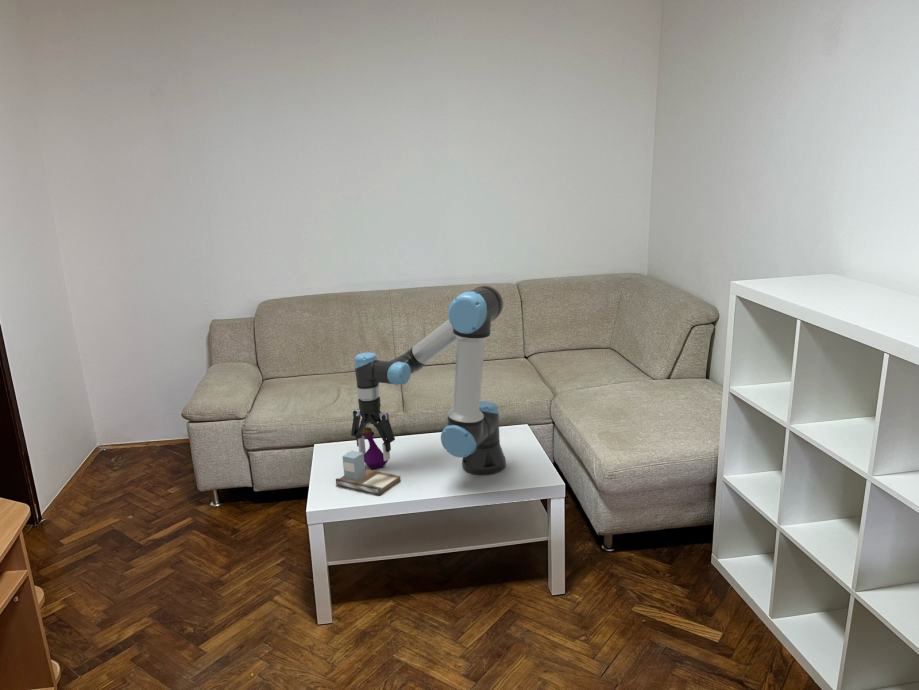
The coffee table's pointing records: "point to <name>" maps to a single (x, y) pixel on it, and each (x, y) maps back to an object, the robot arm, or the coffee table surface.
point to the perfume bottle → (373, 451)
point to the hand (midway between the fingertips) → (374, 457)
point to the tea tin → (354, 465)
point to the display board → (370, 482)
